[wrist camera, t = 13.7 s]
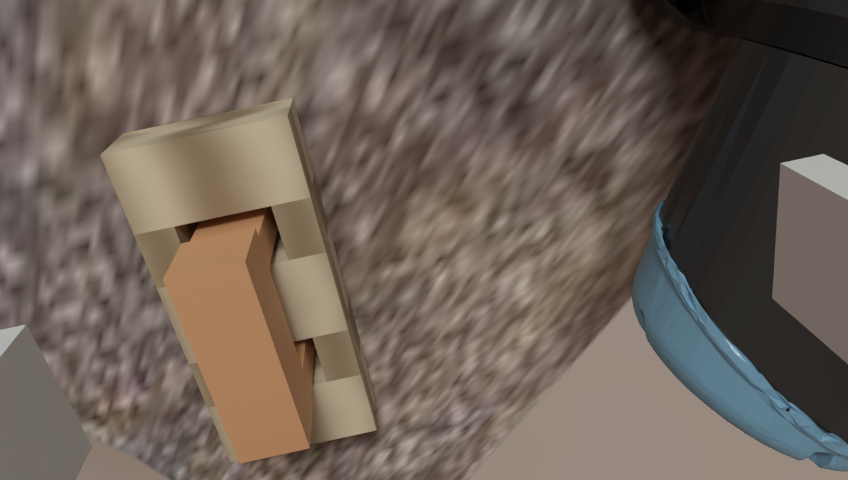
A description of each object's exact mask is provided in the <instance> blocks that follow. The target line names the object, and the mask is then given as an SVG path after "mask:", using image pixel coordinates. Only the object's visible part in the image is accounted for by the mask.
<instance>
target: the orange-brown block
mask: <svg viewBox="0 0 848 480" xmlns="http://www.w3.org/2000/svg"><path fill="white" fill-rule="evenodd" d="M277 231H278V226H277V223H276V220H275V217H274V213H273V210H272V207H271V206H269V207H264V208H260V209H255V210H250V211H245V212H241V213H236V214H231V215H227V216H222V217H217V218H212V219H208V220H203V221H200V222H199V224H198V226H197V228H196V230H195V232H194V234H193V236H192V238H191V240H190V242H186V243H181V245H180V247H179V249H178V251H177V253H176V255H175V257H174V259H173V261H172V263H171V265H170V266H169V268H168V270H167V272H166V274H165V276H164V278H163V282H164V284H165V287H166V289H167V291H168V294H169V296H170V299H171V301H172V303H173V306H174V308H175V311H176V313H177V315H178V318H179V320H180V323H181V325H182V327H183V330H184V332H185V335H186V337H187V339H188V342H189V344H190V347H191V349H192V351H193V354H194V356H195V358H196V361H197V363H198V366H199V368H200V370H201V373H202V375H203V378H204V380H205V382H206V385H207V387H208V390H209V392H210V394H211V397H212V399H213V402H214V404H215V406H216V409H217V411H218V414H219V416H220V418H221V421H222V423H223V426H224V428H225V430H226V433H227V435H228V437H229V440H230V442H231V445H232V447H233V449H234V452H235V454H236V457H237V459H238V461H239V464H240V463H245V462H249V461H254V460H259V459H263V458H268V457H272V456H277V455H282V454H286V453H291V452H295V451H300V450H304V449H309V448H310V440H311V426H312V412H313V400H312V397H311V391H312V377H313V364H314V351H315V344H314V341H313V338H308V339H304V340H299V341H294V342H293V339H292V336H291V333H290V330H289V327H288V324H287V321H286V318H285V315H284V312H283V309H282V306H281V303H280V300H279V297H278V294H277V291H276V288H275V285H274V282H273V279H272V276H271V273H270V270H269V266H270V261H271V257H272V253H273V248H274V244H275V239H276V235H277Z"/></svg>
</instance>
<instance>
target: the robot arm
mask: <svg viewBox="0 0 848 480" xmlns="http://www.w3.org/2000/svg"><path fill="white" fill-rule="evenodd" d="M647 1H648V2H649V3H650V4H651V5H652V6H653V7H654V8H655V9H656V10H658V11H659V12H660V13H661V14H663V15H664V16H666V17H667V18H669V19H670V20H672V21H674V22H676V23H678V24H680V25H683V26H685V27H688V28H691V29H694V30H698V31H701V32H704V33H708V34H712V35H716V36H723V37H740V38H742V39H739V41H738V43H737V46H736V48H735V50H734V52H733V54H732V56H731V59H730V61H729V63H728V65H727V67H726V69H725V72H724V74H723V76H722V78H721V80H720V82H719V85H718V87H717V89H716V91H715V93H714V96H713V98H712V100H711V102H710V104H709V106H708V109H707V111H706V113H705V115H704V117H703V119H702V122H701V124H700V126H699V128H698V130H697V132H696V135H695V137H694V139H693V141H692V143H691V146H690V148H689V150H688V152H687V154H686V156H685V159H684V161H683V163H682V165H681V167H680V169H679V172H678V174H677V176H676V178H675V180H674V183H673V185H672V187H671V189H670V191H669V193H668V196H667V198H666V200H664V201H661V202H660V203H659V205H658V206H657V208H656V210H655V212H654V216H653V220H652V222H653V230H652V232H651V235H650V237H649V240H648V242H647V245H646V248H645V250H644V253H643V255H642V258H641V260H640V263H639V265H638V268H637V270H636V273H635V276H634V280H633V287H632V300H633V306H634V310H635V313H636V316H637V318H638V321H639V324H640V325H641V327H642V328H643V330H644V331H645V333H646V337H647V340H648V342H649V343H650V345H651V346H652V348H653V350H654V351H655V352H656V354H657V355H658V356H659V358H660V359H661V360H662V361H663V363H664V364H665V365H666V366H667V367H668V368H669V370H670V371H671V372H672V373H673V374H674V375H675V376H676V377H677V378H678V379H679V380H680V381H681V382H682V383H683V385H685V386H686V387H687V388H688V389H689V390H690V391H691V392H692V393H693V394H694V395H695V396H697V397H698V398H699V399H700V400H701V401H703V402H704V403H705V404H706V405H707V406H708V407H710V408H711V409H712V410H714V411H715V412H716V413H717V414H719V415H720V416H721V417H723V418H724V419H725V420H726V421H728V422H730V423H731V424H733V425H734V426H735V427H737V428H739V429H740V430H741V431H743V432H744V433H746V434H747V435H749V436H751V437H752V438H754V439H756V440H757V441H759V442H761V443H763V444H764V445H766V446H768V447H770V448H772V449H774V450H776V451H778V452H780V453H783V454H785V455H787V456H790V457H792V458H794V459H797V460H803V459H806V458H809V459H810V460H812V461H813V462H814V463H815V464H816V465H818V466H819V467H820V468H825V469H830V470H836V471H848V0H647ZM91 447H92V445H91V443H90V441H89V439H88V437H87V435H86V434H85V432H84V430H83V428H82V426H81V424H80V423H79V421H78V419H77V417H76V415H75V413H74V412H73V410H72V408H71V406H70V404H69V402H68V400H67V399H66V397H65V395H64V393H63V391H62V389H61V388H60V386H59V384H58V382H57V380H56V378H55V377H54V375H53V373H52V371H51V369H50V367H49V366H48V364H47V362H46V360H45V358H44V356H43V354H42V353H41V351H40V349H39V347H38V345H37V343H36V342H35V340H34V338H33V336H32V334H31V332H30V331H29V329H28V327H27V325H22V326H17V327H12V328H8V329H3V330H0V480H76V478H77V476H78V474H79V472H80V469H81V467H82V465H83V463H84V461H85V459H86V457H87V455H88V453H89V451H90V449H91Z"/></svg>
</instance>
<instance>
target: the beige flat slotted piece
mask: <svg viewBox="0 0 848 480" xmlns="http://www.w3.org/2000/svg"><path fill="white" fill-rule="evenodd" d="M100 156H101V158H102V161H103V163H104V165H105V168H106V170H107V172H108V175H109V177H110V179H111V182H112V184H113V186H114V189H115V191H116V193H117V196H118V198H119V201H120V203H121V205H122V208H123V210H124V212H125V215H126V217H127V219H128V222H129V224H130V226H131V229H132V231H133V233H134V236H135V238H136V241H137V243H138V245H139V248H140V250H141V252H142V255H143V257H144V259H145V262H146V264H147V266H148V269H149V271H150V273H151V276H152V278H153V281H154V283H155V285H156V288H157V290H158V292H159V295H160V297H161V299H162V302H163V304H164V306H165V309H166V311H167V313H168V316H169V318H170V320H171V323H172V325H173V328H174V330H175V332H176V335H177V337H178V339H179V342H180V344H181V346H182V349H183V351H184V353H185V356H186V358H187V360H188V363H189V365H190V368H191V370H192V372H193V375H194V377H195V379H196V382H197V384H198V386H199V389H200V391H201V393H202V396H203V398H204V400H205V403H206V405H207V408H208V410H209V412H210V415H211V417H212V419H213V422H214V424H215V426H216V429H217V431H218V433H219V436H220V438H221V440H222V443H223V445H224V448H225V450H226V452H227V455H228V457H229V459H230V462H234V461H238V459H237V457H236V454H235V452H234V449H233V447H232V445H231V442H230V440H229V437H228V435H227V433H226V430H225V428H224V426H223V423H222V421H221V418H220V416H219V414H218V411H217V409H216V406H215V404H214V402H213V399H212V397H211V394H210V392H209V390H208V387H207V385H206V382H205V380H204V378H203V375H202V373H201V370H200V368H199V366H198V363H197V361H196V358H195V356H194V354H193V351H192V349H191V347H190V344H189V342H188V339H187V337H186V335H185V332H184V330H183V327H182V325H181V323H180V320H179V318H178V315H177V313H176V311H175V308H174V306H173V303H172V301H171V299H170V296H169V294H168V291H167V289H166V287H165V284H164V282H163V278H164V276H165V274H166V272H167V270H168V268H169V266H170V265H171V263H172V261H173V259H174V257H175V255H176V253H177V251H178V249H179V247H180V245H181V243H186V242H190V240H191V238H192V236H193V234H194V232H195V230H196V228H197V226H198V221H203V220H208V219H212V218H217V217H222V216H227V215H231V214H236V213H241V212H245V211H250V210H255V209H260V208H264V207H269V206H271V207H272V210H273V213H274V217H275V220H276V223H277V226H278V229H279V233H280V235H276V239H275V244H274V248H273V253H272V257H271V261H270V266H269V270H270V273H271V276H272V279H273V282H274V285H275V288H276V291H277V294H278V297H279V300H280V303H281V306H282V309H283V312H284V315H285V318H286V321H287V324H288V327H289V330H290V333H291V336H292V339H293V342H294V341H299V340H304V339H308V338H313V341H314V344H315V347H316V349H315V351H314V364H313V377H312V391H311V397H312V400H313V412H312V426H311V440H310V445H312V444H316V443H321V442H326V441H330V440H335V439H339V438H344V437H348V436H353V435H358V434H362V433H367V432H371V431H376V430H377V427H376V410H375V393H374V389H373V385H372V382H371V378H370V375H369V371H368V367H367V364H366V360H365V356H364V353H363V349H362V346H361V342H360V338H359V335H358V331H357V327H356V324H355V320H354V317H353V313H352V309H351V306H350V302H349V299H348V295H347V291H346V288H345V284H344V280H343V277H342V273H341V270H340V266H339V262H338V259H337V255H336V251H335V248H334V244H333V241H332V237H331V233H330V230H329V226H328V222H327V219H326V215H325V212H324V208H323V204H322V201H321V197H320V193H319V190H318V186H317V183H316V179H315V175H314V172H313V168H312V164H311V161H310V157H309V154H308V150H307V146H306V143H305V139H304V135H303V132H302V128H301V125H300V121H299V117H298V114H297V110H296V106H295V103H294V99H293V98H290V99H285V100H280V101H276V102H271V103H266V104H261V105H257V106H252V107H247V108H242V109H238V110H233V111H228V112H223V113H219V114H214V115H209V116H204V117H200V118H195V119H190V120H185V121H180V122H176V123H171V124H166V125H161V126H157V127H152V128H147V129H142V130H138V131H133V132H128V133H123V134H122V135H121V136H120V137H119V138H118V139H117V140H116V141H115V142H114V143H113V144H112V145H110V146H109V147H108V148H107V149H106V150H105V151H104V152H103V153H102V154H101V155H100Z"/></svg>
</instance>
